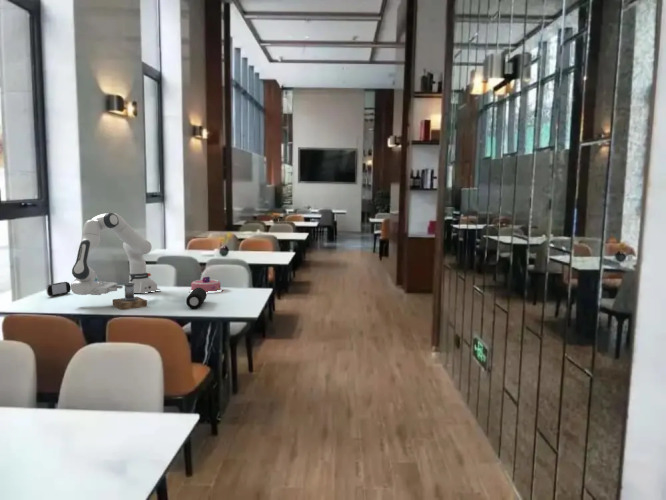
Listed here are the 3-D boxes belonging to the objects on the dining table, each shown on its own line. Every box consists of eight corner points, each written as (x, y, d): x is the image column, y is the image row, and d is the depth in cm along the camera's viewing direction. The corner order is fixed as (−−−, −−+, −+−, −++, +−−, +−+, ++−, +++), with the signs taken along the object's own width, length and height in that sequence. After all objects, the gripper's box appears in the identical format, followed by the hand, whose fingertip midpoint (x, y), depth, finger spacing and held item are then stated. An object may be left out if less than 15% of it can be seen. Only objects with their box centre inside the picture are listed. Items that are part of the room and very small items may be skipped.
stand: (137, 302, 369) (137, 296, 368) (147, 306, 357) (146, 299, 356) (112, 305, 358) (112, 298, 358) (121, 309, 346) (121, 302, 346)
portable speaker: (192, 301, 374) (191, 287, 372) (207, 301, 374) (207, 286, 373) (185, 309, 348) (185, 294, 347) (201, 309, 349) (201, 293, 348)
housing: (132, 297, 362) (132, 282, 361) (136, 299, 357) (136, 283, 356) (122, 299, 357) (121, 283, 356) (126, 300, 352) (125, 285, 351)
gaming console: (46, 297, 382) (48, 297, 381) (44, 284, 382) (47, 284, 381) (69, 293, 400) (71, 293, 399) (67, 281, 400) (70, 280, 399)
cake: (206, 295, 397) (206, 280, 396) (181, 292, 410) (181, 277, 409) (230, 290, 418) (230, 276, 417) (205, 287, 431) (205, 273, 430)
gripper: (90, 285, 345) (113, 286, 345) (103, 280, 366) (125, 280, 366) (91, 296, 346) (113, 296, 346) (104, 290, 366) (125, 290, 366)
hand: (119, 288), depth 356 cm, fingers open, 8 cm apart
